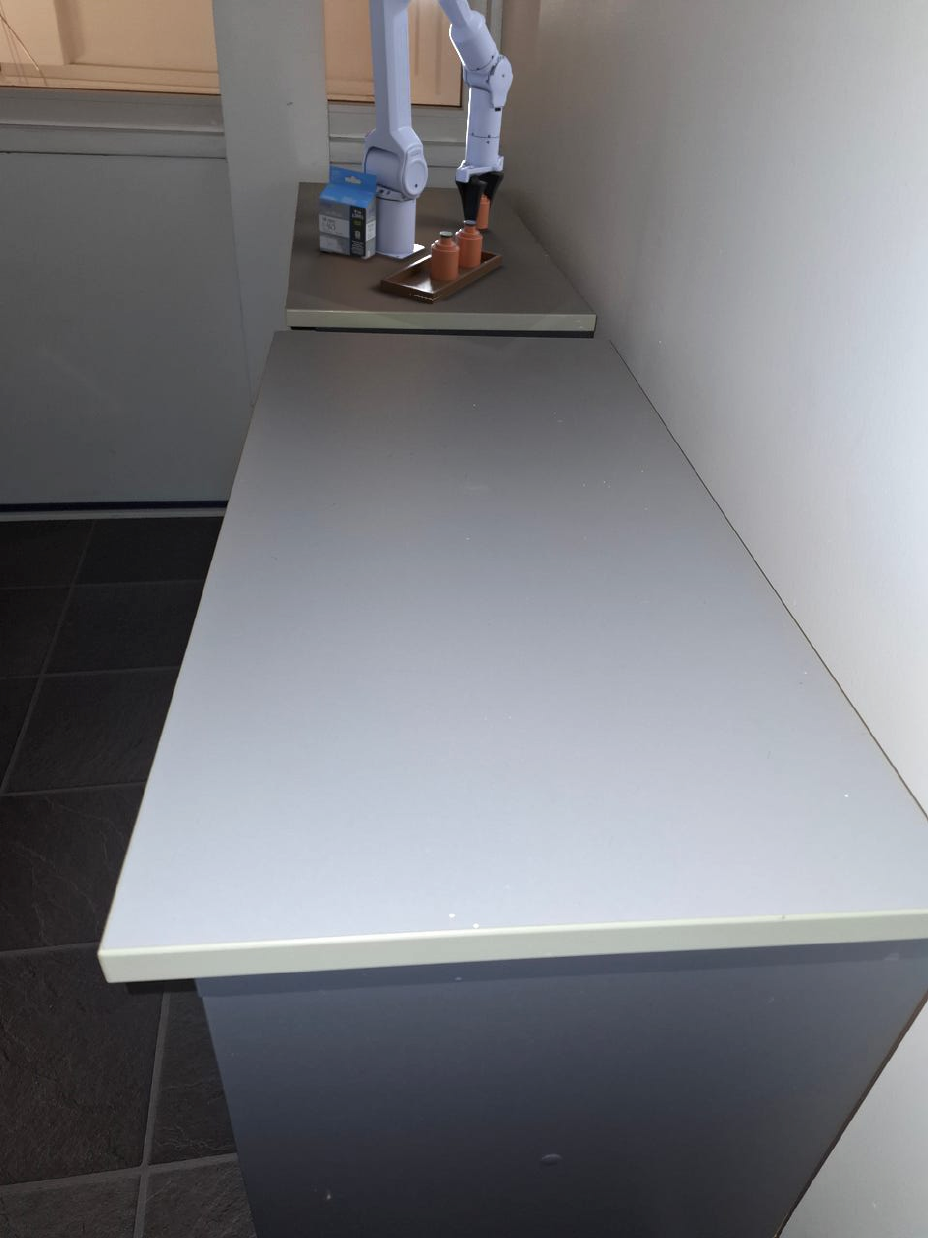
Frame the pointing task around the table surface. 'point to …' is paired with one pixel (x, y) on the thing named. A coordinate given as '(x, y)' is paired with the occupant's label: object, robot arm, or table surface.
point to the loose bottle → (483, 213)
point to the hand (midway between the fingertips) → (476, 217)
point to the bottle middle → (444, 258)
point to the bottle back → (469, 245)
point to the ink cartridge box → (348, 214)
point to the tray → (420, 282)
